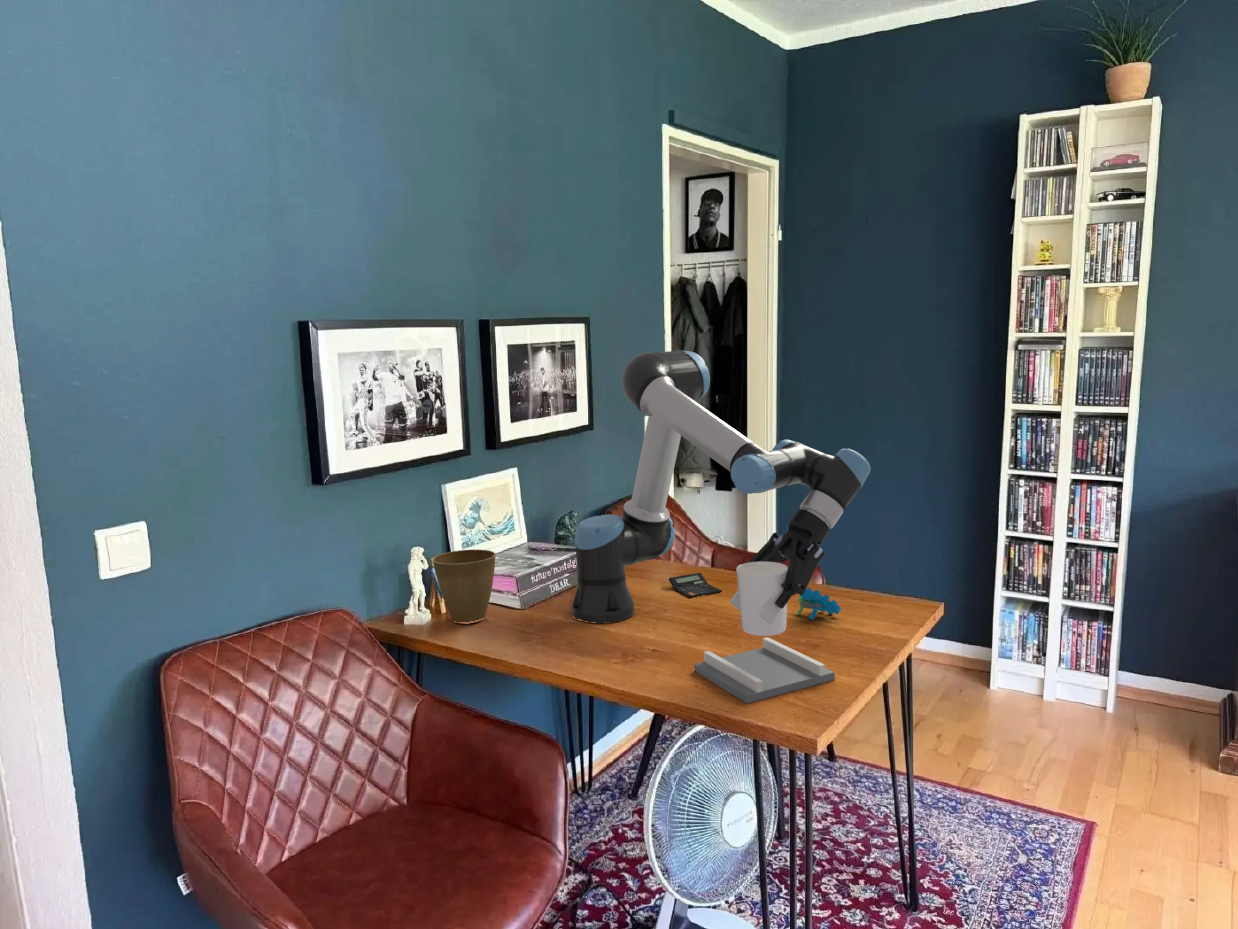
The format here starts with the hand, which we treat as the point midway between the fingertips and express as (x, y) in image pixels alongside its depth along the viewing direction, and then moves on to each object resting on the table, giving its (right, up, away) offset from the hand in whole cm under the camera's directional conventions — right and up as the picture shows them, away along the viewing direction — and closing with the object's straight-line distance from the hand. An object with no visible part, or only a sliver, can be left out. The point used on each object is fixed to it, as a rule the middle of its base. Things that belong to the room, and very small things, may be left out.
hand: (749, 612), depth 163 cm
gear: (+21, -7, +37) cm, 43 cm away
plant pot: (-61, -10, +46) cm, 77 cm away
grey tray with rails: (+3, -13, +4) cm, 14 cm away
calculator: (-5, -5, +62) cm, 63 cm away
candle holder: (+3, -4, +2) cm, 5 cm away
